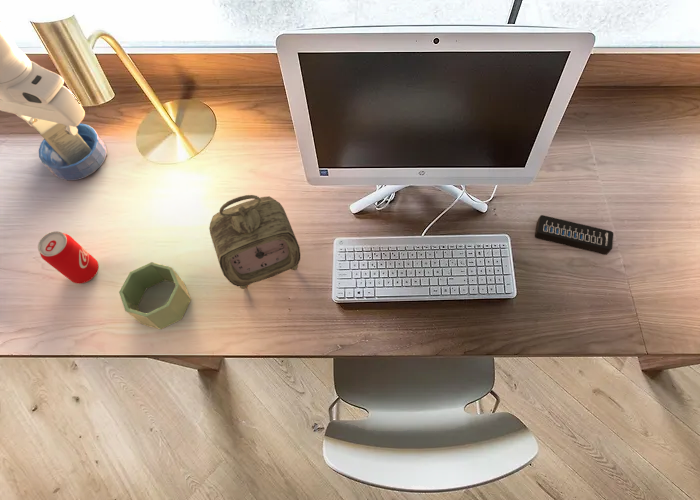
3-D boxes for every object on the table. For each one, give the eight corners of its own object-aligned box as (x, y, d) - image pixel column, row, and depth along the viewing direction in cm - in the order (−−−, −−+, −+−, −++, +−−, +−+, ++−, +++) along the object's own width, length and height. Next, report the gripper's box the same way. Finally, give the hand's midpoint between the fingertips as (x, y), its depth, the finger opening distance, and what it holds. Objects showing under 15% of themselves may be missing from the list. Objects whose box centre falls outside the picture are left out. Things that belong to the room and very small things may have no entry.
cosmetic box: (85, 144, 118) (56, 107, 107) (95, 154, 116) (67, 117, 105) (61, 160, 116) (30, 123, 105) (71, 170, 114) (40, 134, 103)
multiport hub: (537, 220, 104) (540, 214, 102) (608, 237, 101) (613, 231, 99) (534, 237, 102) (537, 232, 100) (607, 255, 99) (612, 249, 97)
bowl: (40, 175, 115) (27, 161, 110) (70, 132, 120) (59, 118, 116) (89, 186, 112) (78, 173, 108) (117, 143, 118) (108, 129, 114)
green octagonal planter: (127, 320, 97) (110, 306, 90) (151, 273, 101) (137, 258, 95) (175, 333, 95) (161, 321, 89) (197, 286, 99) (186, 270, 93)
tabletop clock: (237, 297, 98) (199, 234, 76) (226, 260, 102) (186, 190, 80) (306, 272, 100) (287, 203, 78) (291, 236, 104) (270, 162, 82)
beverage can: (105, 261, 103) (75, 233, 92) (90, 288, 100) (57, 261, 90) (79, 255, 104) (46, 225, 93) (64, 281, 101) (28, 253, 91)
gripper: (-41, 81, 95) (5, 130, 108) (50, 100, 92) (87, 148, 104) (-21, 59, 98) (22, 109, 110) (68, 76, 95) (102, 126, 107)
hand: (54, 128), depth 107 cm, fingers open, 8 cm apart
